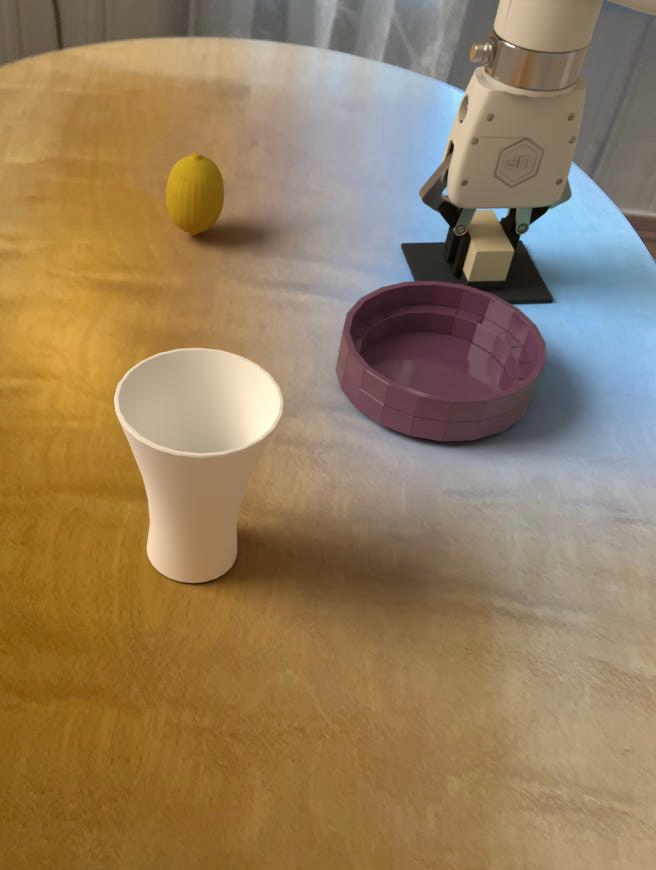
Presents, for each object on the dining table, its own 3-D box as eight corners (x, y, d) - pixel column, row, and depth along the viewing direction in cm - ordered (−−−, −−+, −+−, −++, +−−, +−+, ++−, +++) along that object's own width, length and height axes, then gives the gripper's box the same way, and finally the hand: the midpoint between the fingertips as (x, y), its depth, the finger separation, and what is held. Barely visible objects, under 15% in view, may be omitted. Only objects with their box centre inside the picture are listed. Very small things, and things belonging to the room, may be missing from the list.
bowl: (498, 323, 90) (512, 278, 87) (554, 443, 80) (573, 397, 77) (320, 328, 89) (327, 283, 86) (355, 450, 79) (365, 405, 76)
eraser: (481, 249, 97) (493, 209, 94) (502, 290, 93) (514, 250, 90) (446, 249, 97) (456, 210, 94) (465, 291, 93) (476, 251, 89)
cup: (191, 479, 77) (198, 326, 66) (294, 552, 72) (319, 401, 62) (88, 548, 72) (78, 396, 62) (192, 630, 68) (200, 482, 57)
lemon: (233, 235, 98) (238, 153, 92) (195, 257, 96) (198, 174, 90) (191, 214, 101) (194, 133, 94) (153, 234, 98) (153, 153, 92)
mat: (520, 243, 99) (521, 239, 98) (552, 302, 93) (553, 299, 92) (400, 246, 98) (401, 242, 98) (424, 306, 92) (425, 302, 91)
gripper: (444, 80, 77) (396, 292, 92) (651, 78, 79) (572, 288, 93) (421, 39, 82) (379, 247, 96) (617, 38, 83) (547, 243, 98)
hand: (474, 265), depth 95 cm, fingers closed on eraser, 3 cm apart
